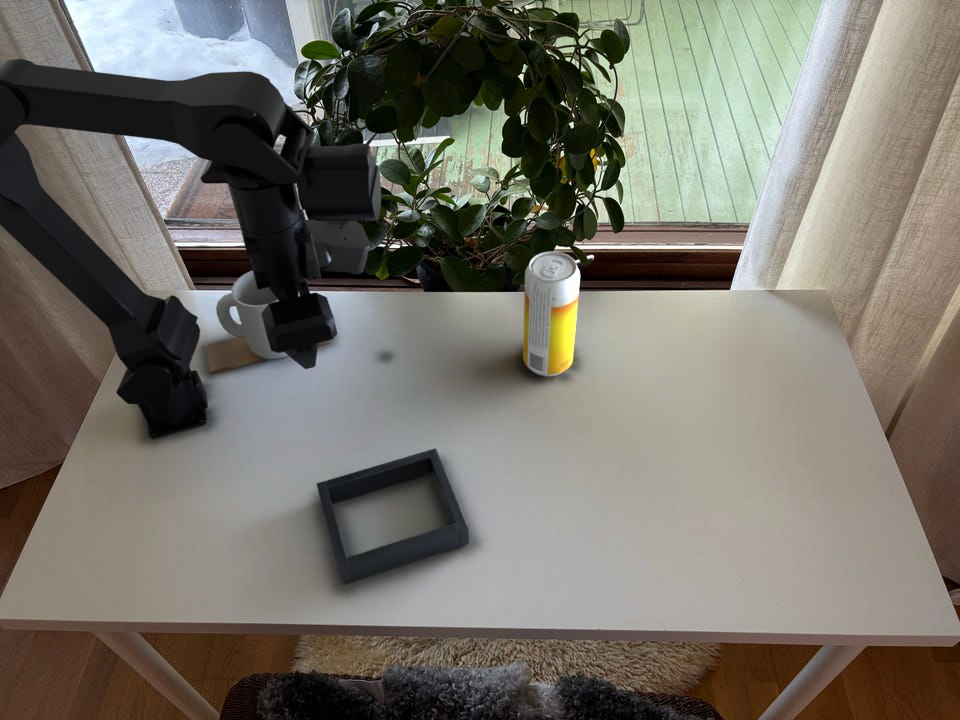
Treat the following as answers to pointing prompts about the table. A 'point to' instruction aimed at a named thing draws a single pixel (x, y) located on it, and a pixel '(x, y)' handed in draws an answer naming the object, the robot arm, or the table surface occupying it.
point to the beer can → (550, 312)
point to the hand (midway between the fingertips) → (301, 338)
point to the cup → (248, 314)
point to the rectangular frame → (402, 549)
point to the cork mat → (233, 354)
